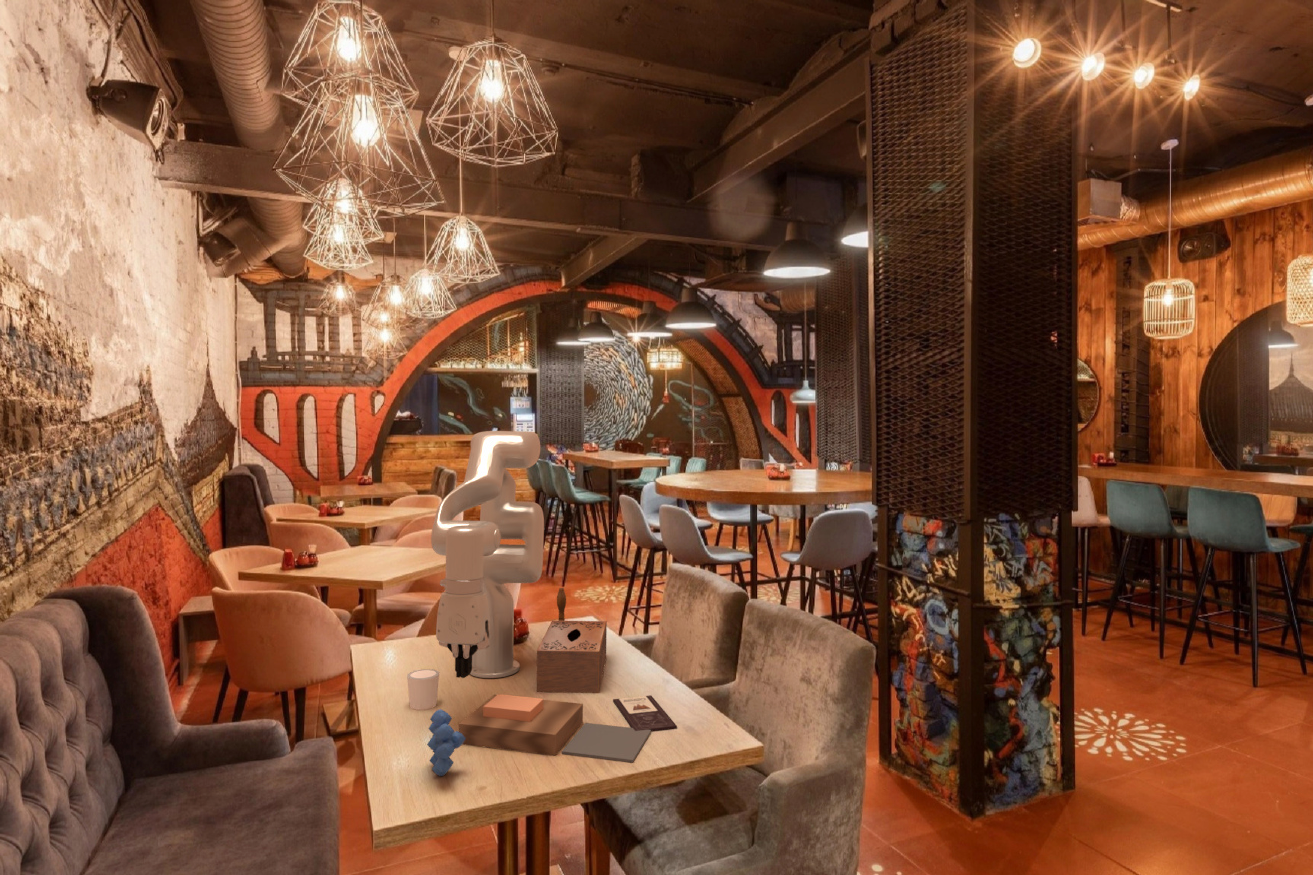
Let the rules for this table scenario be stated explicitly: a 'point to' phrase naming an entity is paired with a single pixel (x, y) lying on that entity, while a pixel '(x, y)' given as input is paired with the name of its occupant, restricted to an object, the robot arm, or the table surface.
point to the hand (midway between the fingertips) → (463, 675)
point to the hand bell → (561, 603)
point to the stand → (525, 729)
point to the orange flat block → (513, 707)
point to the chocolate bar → (644, 714)
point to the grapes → (443, 742)
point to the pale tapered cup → (423, 688)
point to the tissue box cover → (572, 657)
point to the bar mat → (607, 742)
